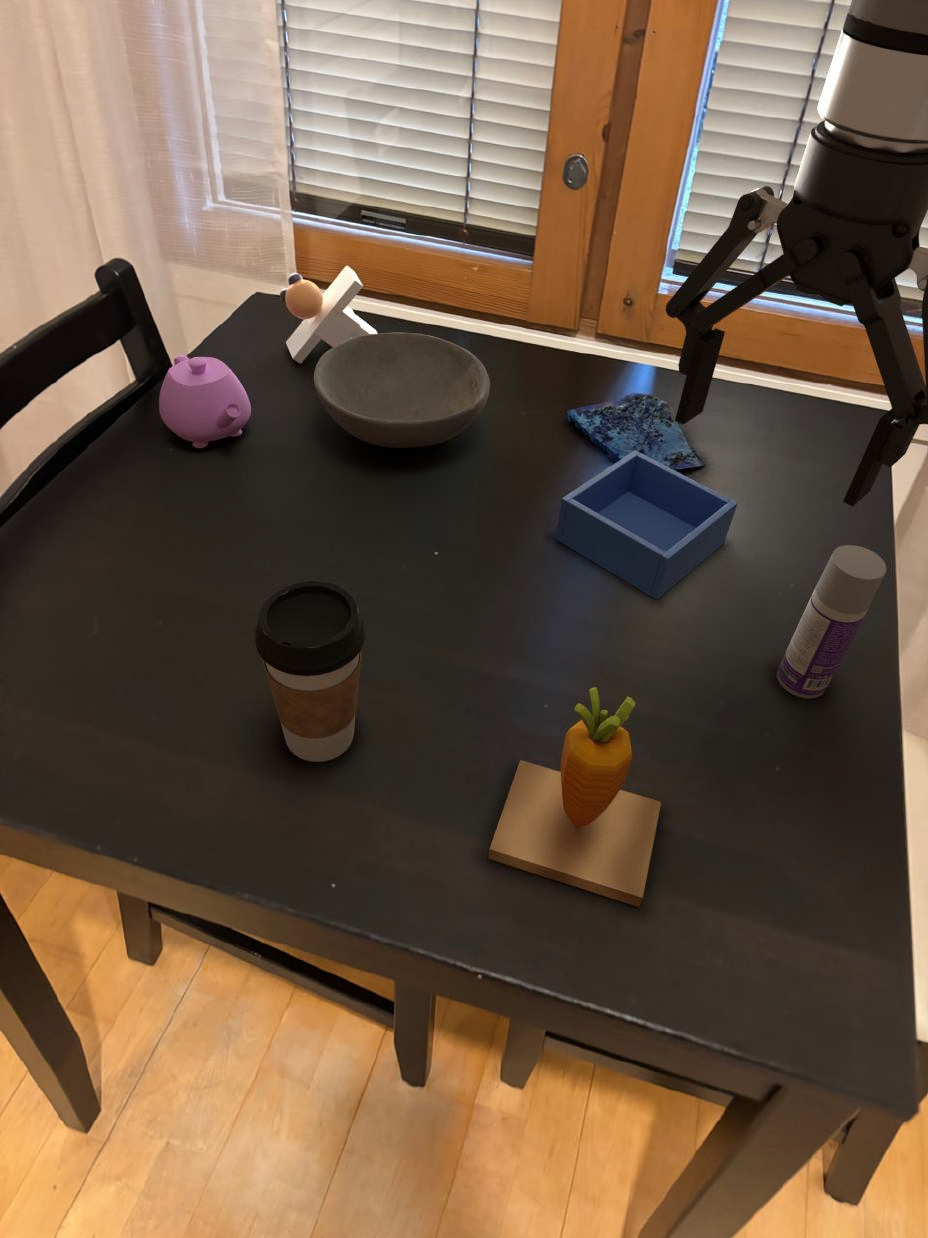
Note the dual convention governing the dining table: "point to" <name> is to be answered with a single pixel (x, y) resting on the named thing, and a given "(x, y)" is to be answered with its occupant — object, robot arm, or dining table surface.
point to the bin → (644, 522)
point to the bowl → (401, 388)
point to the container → (830, 620)
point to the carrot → (594, 760)
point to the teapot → (203, 400)
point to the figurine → (323, 313)
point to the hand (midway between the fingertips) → (768, 454)
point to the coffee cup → (313, 665)
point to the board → (576, 837)
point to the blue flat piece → (637, 430)
